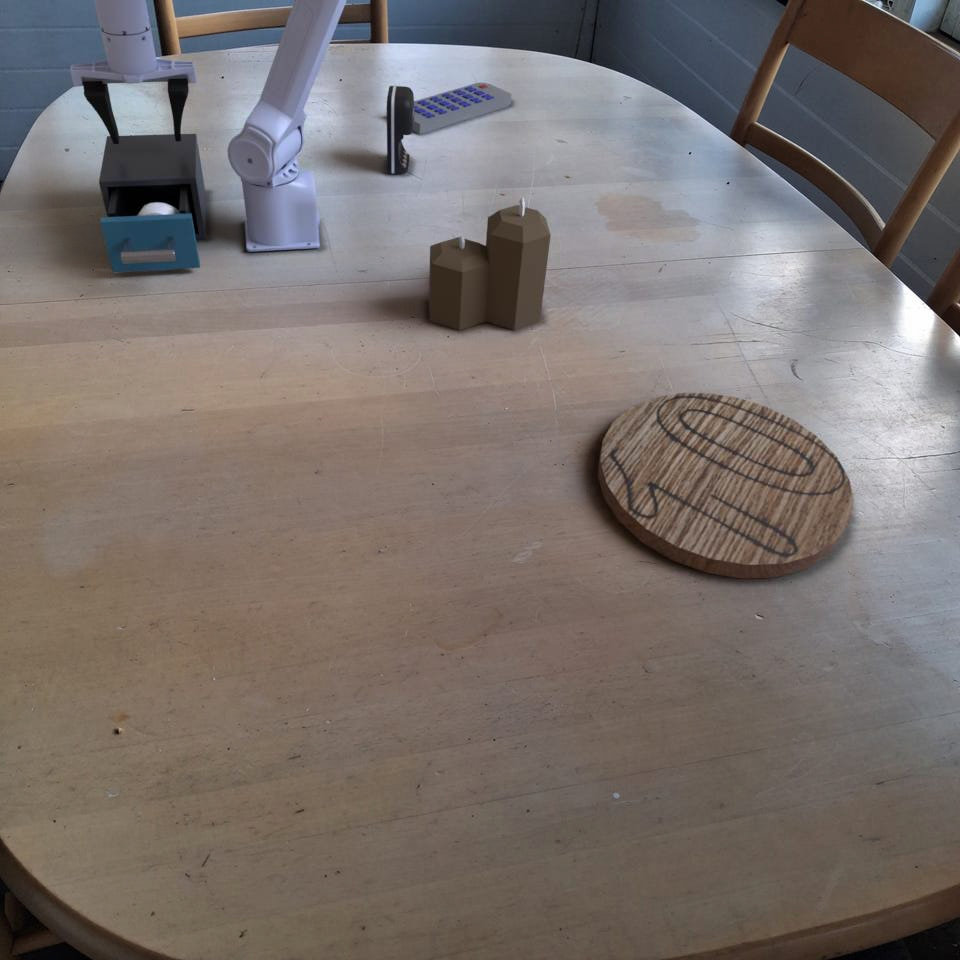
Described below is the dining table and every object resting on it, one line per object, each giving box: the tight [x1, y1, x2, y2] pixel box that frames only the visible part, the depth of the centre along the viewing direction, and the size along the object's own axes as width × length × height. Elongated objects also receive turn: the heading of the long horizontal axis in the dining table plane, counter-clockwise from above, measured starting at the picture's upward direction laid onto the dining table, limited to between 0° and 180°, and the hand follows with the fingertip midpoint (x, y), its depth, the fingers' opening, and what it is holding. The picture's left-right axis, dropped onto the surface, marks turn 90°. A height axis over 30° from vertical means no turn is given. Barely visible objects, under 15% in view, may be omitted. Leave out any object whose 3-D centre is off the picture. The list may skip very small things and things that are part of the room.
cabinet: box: [98, 133, 207, 241], centre depth 121 cm, size 14×12×9 cm
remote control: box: [412, 82, 512, 135], centre depth 156 cm, size 8×23×2 cm, turn 134°
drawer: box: [99, 184, 201, 274], centre depth 113 cm, size 17×10×7 cm, turn 12°
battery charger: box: [386, 84, 415, 175], centre depth 136 cm, size 7×4×11 cm, turn 0°
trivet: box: [597, 392, 855, 580], centre depth 91 cm, size 25×25×2 cm
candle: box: [428, 197, 552, 331], centre depth 107 cm, size 14×14×15 cm
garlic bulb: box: [137, 202, 180, 216], centre depth 114 cm, size 6×6×6 cm
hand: (147, 139), depth 117 cm, fingers open, 7 cm apart
